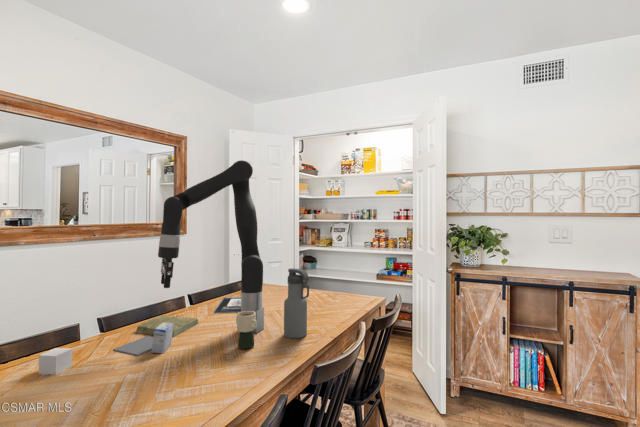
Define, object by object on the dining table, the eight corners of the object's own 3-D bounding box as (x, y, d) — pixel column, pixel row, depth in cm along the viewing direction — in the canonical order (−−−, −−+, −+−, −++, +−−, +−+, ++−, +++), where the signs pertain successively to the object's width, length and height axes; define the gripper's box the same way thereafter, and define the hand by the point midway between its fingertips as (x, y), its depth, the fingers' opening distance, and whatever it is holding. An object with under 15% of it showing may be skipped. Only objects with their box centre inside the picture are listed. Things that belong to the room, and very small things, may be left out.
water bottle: (311, 333, 142) (312, 268, 142) (300, 340, 133) (301, 271, 133) (291, 329, 146) (291, 267, 146) (279, 336, 137) (280, 270, 137)
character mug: (262, 347, 126) (263, 313, 126) (249, 353, 120) (249, 318, 120) (243, 341, 132) (243, 308, 132) (229, 346, 126) (229, 313, 127)
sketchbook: (213, 314, 170) (213, 310, 170) (224, 300, 200) (224, 296, 200) (255, 313, 173) (255, 309, 173) (259, 299, 202) (259, 295, 202)
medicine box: (159, 344, 127) (162, 322, 127) (171, 345, 127) (174, 323, 128) (150, 352, 119) (153, 328, 119) (163, 353, 120) (166, 330, 120)
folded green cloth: (161, 321, 158) (161, 314, 158) (199, 324, 154) (199, 316, 154) (131, 335, 140) (132, 326, 140) (173, 338, 136) (173, 330, 136)
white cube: (55, 365, 110) (56, 347, 110) (72, 366, 109) (72, 348, 109) (38, 374, 104) (38, 355, 104) (55, 375, 103) (56, 356, 103)
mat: (171, 341, 131) (171, 340, 131) (137, 355, 118) (137, 354, 118) (147, 336, 136) (147, 335, 136) (113, 350, 122) (113, 349, 122)
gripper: (182, 247, 129) (178, 289, 128) (176, 244, 141) (172, 282, 140) (161, 247, 125) (156, 289, 124) (157, 243, 137) (153, 282, 136)
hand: (165, 285), depth 132 cm, fingers open, 8 cm apart
